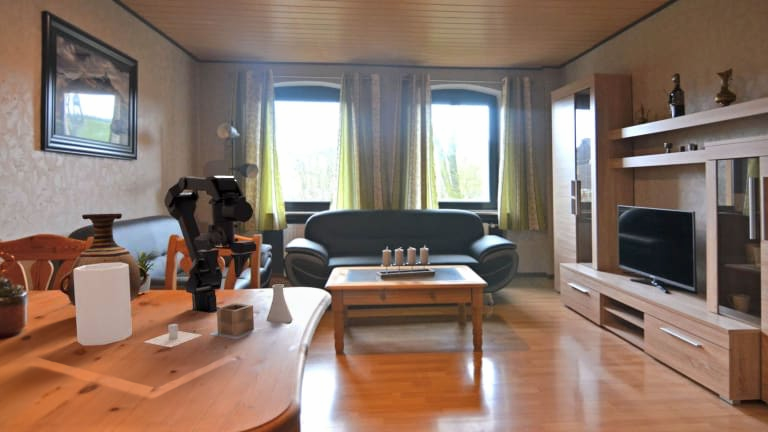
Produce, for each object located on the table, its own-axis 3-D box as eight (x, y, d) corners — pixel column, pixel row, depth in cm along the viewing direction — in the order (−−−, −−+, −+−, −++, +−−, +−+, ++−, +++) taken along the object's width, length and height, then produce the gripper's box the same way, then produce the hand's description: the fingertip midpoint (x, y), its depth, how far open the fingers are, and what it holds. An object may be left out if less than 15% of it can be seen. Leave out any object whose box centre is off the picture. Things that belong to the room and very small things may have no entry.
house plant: (173, 287, 169) (171, 244, 168) (155, 296, 155) (153, 249, 154) (135, 288, 168) (132, 245, 167) (113, 297, 155) (111, 250, 154)
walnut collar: (235, 326, 115) (234, 303, 115) (253, 329, 113) (253, 305, 112) (217, 333, 110) (216, 309, 110) (236, 336, 107) (235, 311, 107)
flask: (286, 326, 119) (285, 288, 118) (260, 325, 120) (259, 288, 120) (296, 318, 126) (295, 283, 125) (272, 317, 128) (271, 282, 127)
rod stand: (143, 346, 105) (142, 328, 104) (176, 335, 113) (175, 317, 113) (170, 352, 101) (169, 333, 101) (202, 339, 109) (201, 322, 109)
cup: (74, 354, 101) (69, 272, 100) (81, 339, 111) (76, 265, 110) (131, 345, 106) (127, 267, 105) (133, 332, 116) (129, 260, 115)
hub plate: (208, 339, 109) (207, 314, 109) (235, 328, 118) (235, 305, 117) (237, 344, 106) (236, 318, 105) (263, 332, 114) (262, 308, 113)
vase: (56, 328, 121) (49, 216, 119) (71, 311, 137) (65, 213, 135) (146, 317, 129) (141, 213, 127) (150, 303, 146) (145, 210, 144)
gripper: (175, 222, 122) (177, 279, 123) (226, 224, 114) (228, 284, 115) (207, 219, 132) (209, 271, 133) (257, 220, 124) (258, 276, 125)
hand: (225, 276), depth 127 cm, fingers open, 9 cm apart
